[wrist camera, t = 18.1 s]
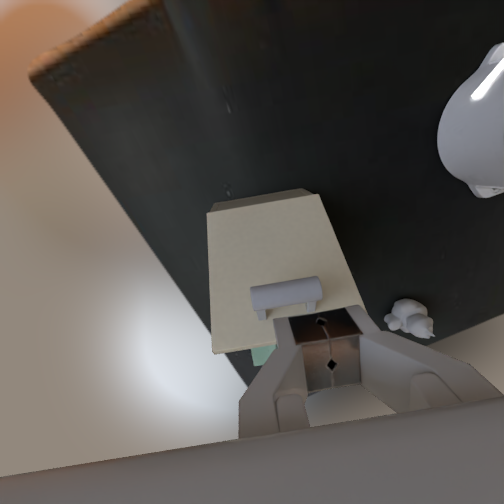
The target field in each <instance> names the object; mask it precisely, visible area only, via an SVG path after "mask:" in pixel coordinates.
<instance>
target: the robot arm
mask: <svg viewBox="0 0 504 504" xmlns="http://www.w3.org/2000/svg"><path fill="white" fill-rule="evenodd" d="M437 145H438V151H439V155H440V158H441V161H442V163H443V164H444V166H445V168H446V169H447V170H448V171H449V172H450V173H451V174H452V175H453V176H455V177H456V178H458V179H460V180H462V181H464V182H465V183H467V184H468V186H469V187H470V189H471V191H472V192H473V193H474V195H475V196H476V197H479V198H488V197H491V196H494V195H497V194H500V193H502V192H504V42H503V43H500V44H497V45H495V46H494V47H493V48H492V49H491V50H490V51H489V52H488V54H487V55H486V57H485V59H484V60H483V62H482V64H481V65H480V67H479V69H478V70H477V71H476V72H475V73H474V74H473V75H472V76H471V77H470V78H468V79H467V80H466V81H465V82H464V83H463V84H462V85H461V86H460V87H459V88H458V89H457V90H456V92H455V93H454V94H453V96H452V97H451V98H450V100H449V102H448V103H447V105H446V107H445V109H444V111H443V114H442V117H441V119H440V123H439V127H438V135H437ZM273 325H274V331H275V337H276V343H277V349H274V350H273V352H272V353H271V355H270V356H269V358H268V359H267V361H266V362H265V364H264V365H263V367H262V368H261V369H260V371H259V372H258V374H257V375H256V377H255V378H254V380H253V381H252V383H251V384H250V386H249V387H248V389H247V390H246V392H245V393H244V395H243V396H242V397H241V399H240V400H239V439H235V440H229V441H223V442H216V443H211V444H204V445H197V446H191V447H185V448H179V449H172V450H166V451H160V452H154V453H148V454H142V455H135V456H129V457H123V458H116V459H110V460H104V461H98V462H91V463H85V464H79V465H73V466H66V467H60V468H54V469H48V470H42V471H36V472H29V473H23V474H17V475H10V476H4V477H0V504H504V395H503V394H502V393H501V392H500V391H499V390H498V389H497V388H495V387H494V386H493V385H492V384H491V383H490V382H489V381H488V380H487V379H486V378H485V377H483V376H482V375H481V374H480V373H479V372H478V371H477V370H476V369H474V368H473V367H472V366H471V365H470V364H468V363H465V362H463V361H460V360H458V359H455V358H453V357H450V356H448V355H445V354H443V353H440V352H438V351H435V350H433V349H430V348H428V347H425V346H423V345H420V344H418V343H415V342H413V341H410V340H408V339H405V338H403V337H400V336H398V335H395V334H393V333H391V332H388V331H381V330H380V329H379V328H378V326H377V325H376V324H375V323H374V322H373V320H372V319H371V318H370V317H369V316H368V314H367V313H366V312H365V311H364V309H363V308H362V307H361V306H360V305H358V304H357V305H352V306H347V307H343V308H338V309H333V310H327V311H322V312H317V313H316V312H314V313H307V314H300V315H294V316H286V317H280V318H275V319H273ZM352 385H361V386H362V387H364V388H365V389H366V390H368V391H369V392H370V393H372V394H373V395H374V396H375V397H377V398H378V399H380V400H381V401H382V402H383V403H385V404H386V405H387V406H388V407H390V408H391V409H392V410H394V411H395V412H396V414H390V415H384V416H378V417H371V418H365V419H359V420H353V421H346V422H341V423H334V424H329V425H322V426H316V427H310V424H309V420H308V417H307V413H306V409H305V406H304V405H305V402H306V399H307V396H308V393H311V392H316V391H321V390H326V389H332V388H338V387H346V386H352Z"/></svg>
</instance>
